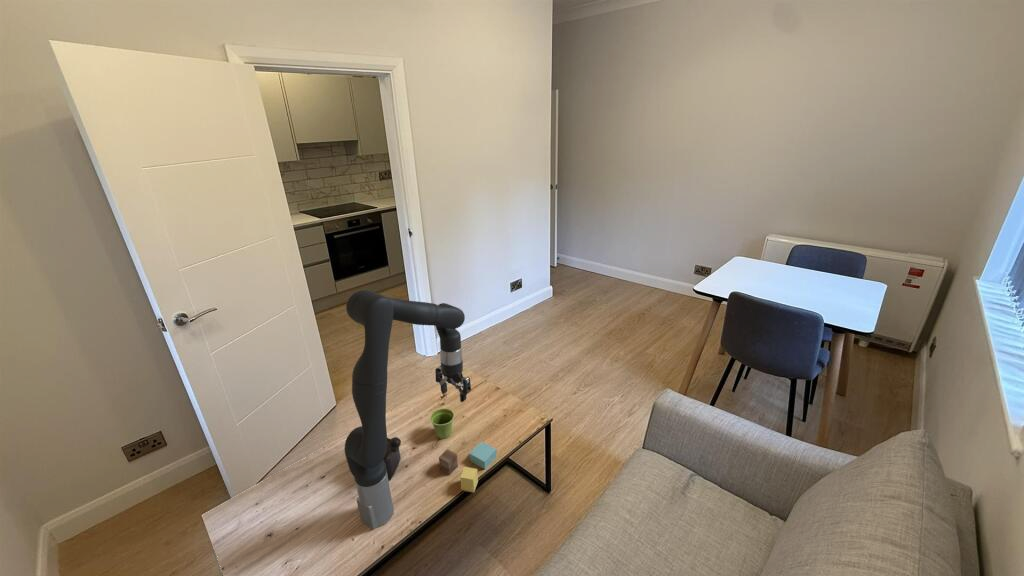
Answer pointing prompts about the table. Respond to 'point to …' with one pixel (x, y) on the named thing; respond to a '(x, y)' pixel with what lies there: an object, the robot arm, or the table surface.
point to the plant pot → (442, 422)
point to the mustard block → (469, 479)
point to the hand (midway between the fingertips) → (453, 396)
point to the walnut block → (448, 461)
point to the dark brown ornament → (392, 456)
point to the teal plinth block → (483, 455)
